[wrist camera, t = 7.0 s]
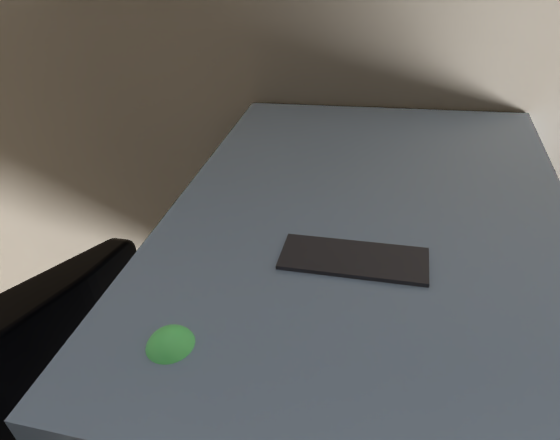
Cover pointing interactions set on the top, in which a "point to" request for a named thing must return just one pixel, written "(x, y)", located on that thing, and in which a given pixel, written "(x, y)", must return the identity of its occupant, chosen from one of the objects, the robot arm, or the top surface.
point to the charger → (331, 291)
